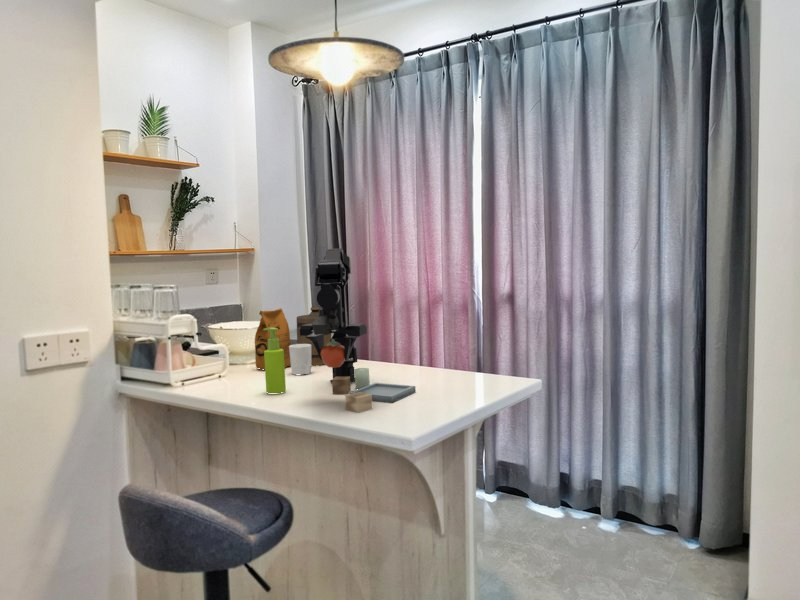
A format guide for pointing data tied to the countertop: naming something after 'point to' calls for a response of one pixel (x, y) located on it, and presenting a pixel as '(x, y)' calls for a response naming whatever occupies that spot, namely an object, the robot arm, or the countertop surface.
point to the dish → (386, 391)
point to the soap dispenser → (274, 364)
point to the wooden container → (303, 340)
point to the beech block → (358, 402)
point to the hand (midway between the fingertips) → (334, 359)
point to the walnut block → (341, 385)
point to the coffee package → (262, 336)
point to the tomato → (333, 354)
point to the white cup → (300, 358)
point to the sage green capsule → (361, 377)
